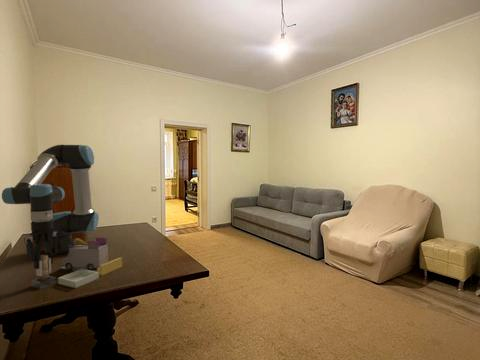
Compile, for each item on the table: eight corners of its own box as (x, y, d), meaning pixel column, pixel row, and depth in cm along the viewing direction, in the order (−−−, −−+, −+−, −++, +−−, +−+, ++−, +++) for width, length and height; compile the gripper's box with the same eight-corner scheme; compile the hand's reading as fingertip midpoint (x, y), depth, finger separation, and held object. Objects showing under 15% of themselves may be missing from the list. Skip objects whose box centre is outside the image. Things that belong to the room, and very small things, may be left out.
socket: (31, 286, 110) (30, 280, 110) (47, 280, 116) (46, 275, 116) (40, 289, 108) (40, 283, 108) (56, 282, 114) (56, 277, 114)
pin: (37, 283, 112) (36, 256, 111) (45, 280, 114) (44, 254, 114) (42, 285, 110) (41, 257, 110) (50, 282, 113) (49, 255, 113)
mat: (61, 268, 130) (61, 267, 130) (86, 259, 143) (86, 258, 143) (98, 276, 121) (98, 275, 121) (122, 266, 134) (122, 265, 134)
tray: (58, 284, 112) (58, 277, 112) (82, 274, 123) (81, 268, 123) (75, 289, 108) (75, 282, 108) (98, 278, 119) (98, 272, 118)
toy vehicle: (73, 264, 135) (73, 235, 134) (109, 265, 134) (109, 236, 133) (60, 271, 126) (59, 240, 125) (99, 272, 125) (98, 241, 124)
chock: (97, 274, 122) (97, 265, 122) (117, 265, 133) (117, 257, 133) (101, 275, 121) (101, 266, 121) (122, 266, 132) (122, 257, 132)
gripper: (26, 224, 102) (28, 283, 103) (66, 217, 117) (68, 268, 118) (14, 223, 105) (17, 279, 106) (55, 216, 120) (57, 265, 121)
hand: (43, 273), depth 112 cm, fingers closed on pin, 3 cm apart
